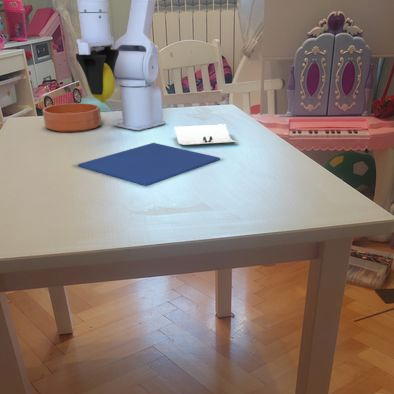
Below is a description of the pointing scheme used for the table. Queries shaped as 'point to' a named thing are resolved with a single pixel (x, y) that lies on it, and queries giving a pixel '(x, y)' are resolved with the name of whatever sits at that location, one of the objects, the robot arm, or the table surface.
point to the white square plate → (202, 134)
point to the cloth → (149, 163)
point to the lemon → (106, 84)
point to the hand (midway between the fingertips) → (102, 91)
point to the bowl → (72, 117)
